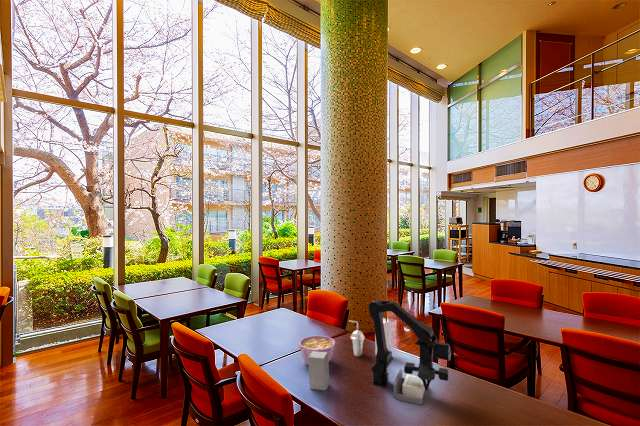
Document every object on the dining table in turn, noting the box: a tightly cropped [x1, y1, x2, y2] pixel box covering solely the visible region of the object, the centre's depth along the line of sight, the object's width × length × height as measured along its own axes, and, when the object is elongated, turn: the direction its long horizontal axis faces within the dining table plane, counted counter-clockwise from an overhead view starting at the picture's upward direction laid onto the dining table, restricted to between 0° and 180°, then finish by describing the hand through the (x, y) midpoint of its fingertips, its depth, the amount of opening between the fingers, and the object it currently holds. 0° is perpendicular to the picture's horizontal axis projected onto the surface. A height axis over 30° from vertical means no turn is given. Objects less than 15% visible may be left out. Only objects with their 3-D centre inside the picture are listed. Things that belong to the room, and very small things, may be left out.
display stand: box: [393, 368, 423, 406], centre depth 148 cm, size 12×16×6 cm
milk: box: [374, 317, 391, 356], centre depth 187 cm, size 6×6×22 cm
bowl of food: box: [299, 335, 336, 364], centre depth 179 cm, size 20×20×12 cm
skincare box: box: [307, 351, 330, 392], centre depth 154 cm, size 8×7×16 cm
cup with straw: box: [348, 319, 366, 357], centre depth 189 cm, size 8×9×20 cm
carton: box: [402, 373, 426, 400], centre depth 149 cm, size 8×11×5 cm
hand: (426, 389), depth 145 cm, fingers closed
